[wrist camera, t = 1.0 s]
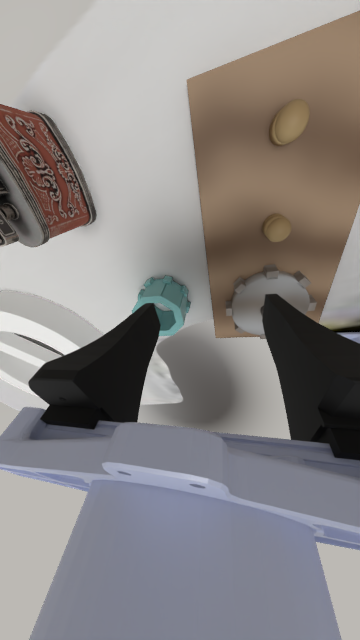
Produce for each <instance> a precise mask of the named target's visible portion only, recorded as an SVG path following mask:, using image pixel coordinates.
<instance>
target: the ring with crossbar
mask: <svg viewBox="0 0 360 640" xmlns="http://www.w3.org/2000/svg"><path fill="white" fill-rule="evenodd" d="M11 332H12V333H11ZM13 333H16V334H20V335H24V336H27V337H30V338H32V339H35V340H37V341H40V342H42V343H44V344H46V345H48V346H50V347H52V348H54V349H56V350H57V351H59V352H61V353H62V354H64V355H67V354H69V353H71V352H73V351H76V350H78V349H80V348H82V347H84V346H86V345H88V344H89V343H91V342H93V341H95V340H97V339H98V338H100V337H102V336H103V334H102V333H101V332H100V331H99V330H98V329H97V328H96V327H95V326H93V325H92V324H91V323H89V322H88V321H87V320H85V319H84V318H82V317H81V316H79V315H78V314H76V313H74V312H73V311H71V310H69V309H67V308H65V307H63V306H62V305H59V304H57V303H55V302H53V301H50V300H48V299H45V298H42V297H39V296H36V295H32V294H28V293H23V292H17V291H0V379H2V380H4V381H5V382H7V383H9V384H11V385H13V386H15V387H17V388H19V389H21V390H23V391H25V392H28V393H30V394H33V395H35V396H38V395H36V394H35V393H34V392H33V391H32V390H31V389H30V388H29V384H28V382H29V380H30V379H31V378H32V377H33V376H34V374H35V373H36V372H37V371H38V370H39V369H40V368H41V367H42V365H43V364H44V363H46V362H49V361H52V360H54V359H57V358H59V357H62V356H61V355H59V354H57V353H55V352H52V351H50V350H48V349H46V348H44V347H42V346H39V345H37V344H35V343H33V342H31V341H29V340H26V339H24V338H22V337H20V336H18V335H16V334H13ZM38 397H39V396H38Z"/></svg>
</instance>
